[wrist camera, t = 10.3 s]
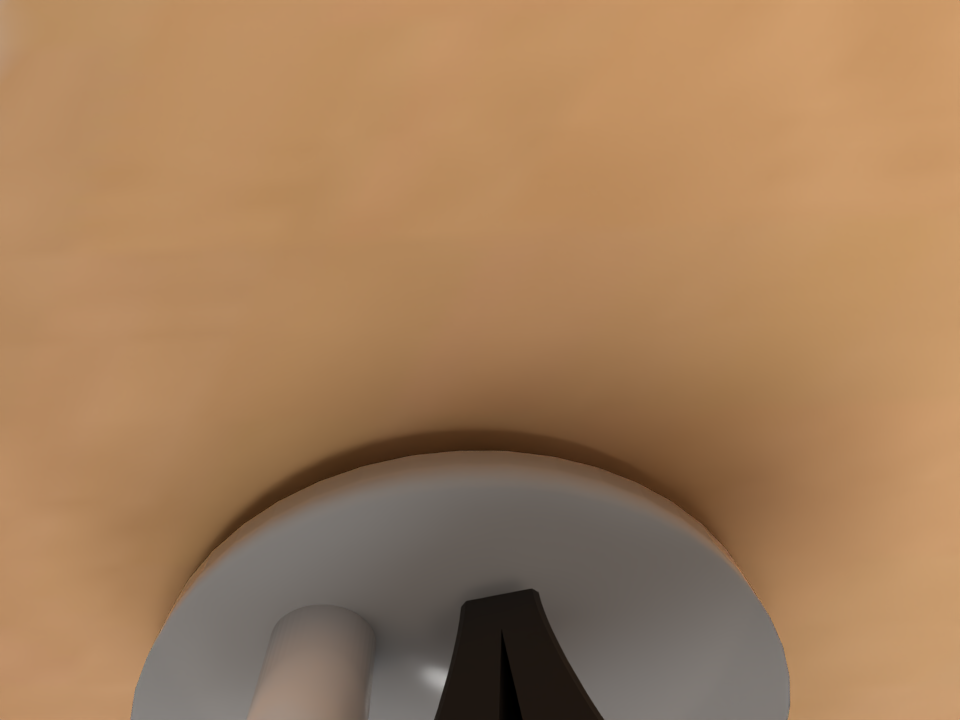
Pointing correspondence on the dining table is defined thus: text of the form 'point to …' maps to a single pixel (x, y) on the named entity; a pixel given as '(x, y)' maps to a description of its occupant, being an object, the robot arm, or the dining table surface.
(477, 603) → the robot arm
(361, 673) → the turntable
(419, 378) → the dining table surface
